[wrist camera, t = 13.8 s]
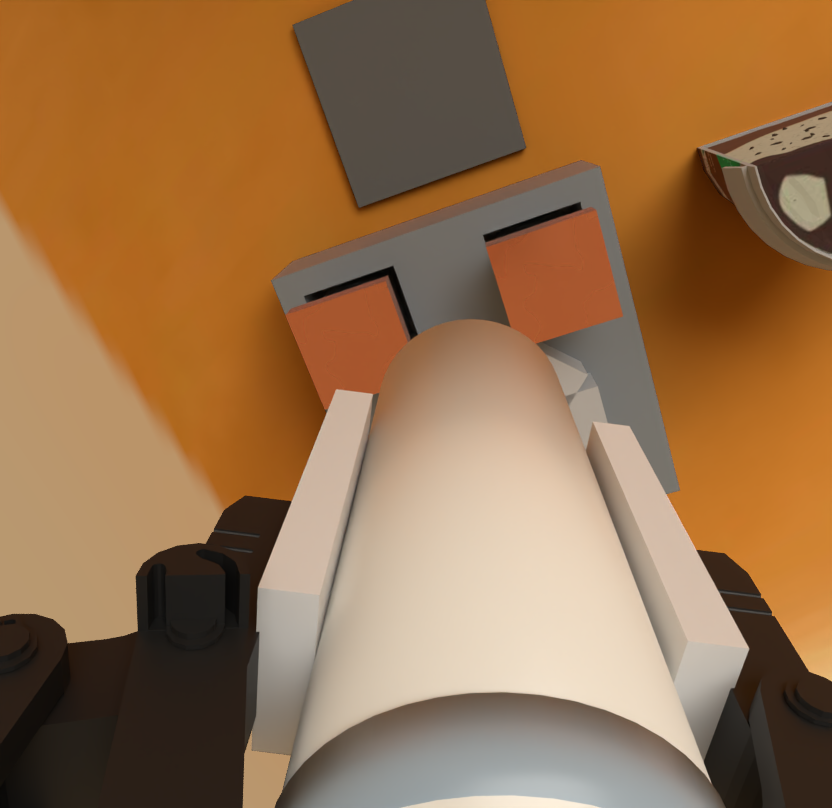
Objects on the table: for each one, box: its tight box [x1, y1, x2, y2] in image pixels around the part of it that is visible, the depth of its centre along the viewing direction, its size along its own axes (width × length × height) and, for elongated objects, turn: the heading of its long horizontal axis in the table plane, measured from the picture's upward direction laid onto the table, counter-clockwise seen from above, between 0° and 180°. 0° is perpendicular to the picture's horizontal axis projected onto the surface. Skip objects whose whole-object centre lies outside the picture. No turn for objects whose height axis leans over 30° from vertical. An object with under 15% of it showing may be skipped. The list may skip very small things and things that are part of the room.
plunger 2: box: [485, 207, 623, 344], centre depth 34 cm, size 5×5×7 cm
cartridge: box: [275, 319, 726, 808], centre depth 12 cm, size 5×5×14 cm
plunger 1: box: [285, 269, 411, 409], centre depth 35 cm, size 5×5×7 cm
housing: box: [271, 160, 680, 494], centre depth 38 cm, size 17×16×7 cm
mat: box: [293, 0, 526, 208], centre depth 36 cm, size 9×9×1 cm
